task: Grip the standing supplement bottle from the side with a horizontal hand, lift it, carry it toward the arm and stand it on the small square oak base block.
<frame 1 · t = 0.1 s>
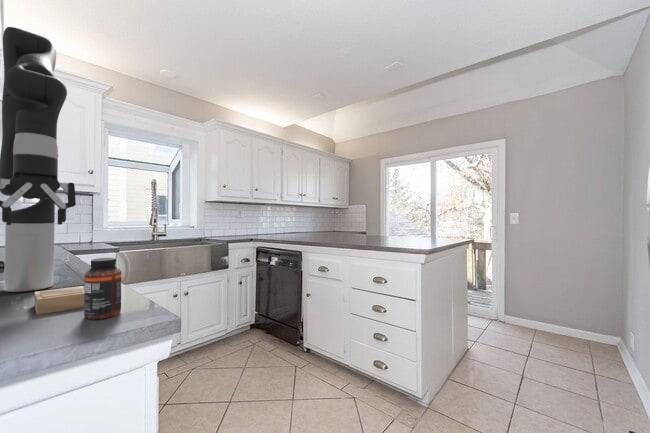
hand: (35, 224, 69), 17 cm above the counter, tool pointing down, fingers open, 8 cm apart
oak base: (61, 306, 64), on the counter
supplement bottle: (102, 316, 59), on the counter
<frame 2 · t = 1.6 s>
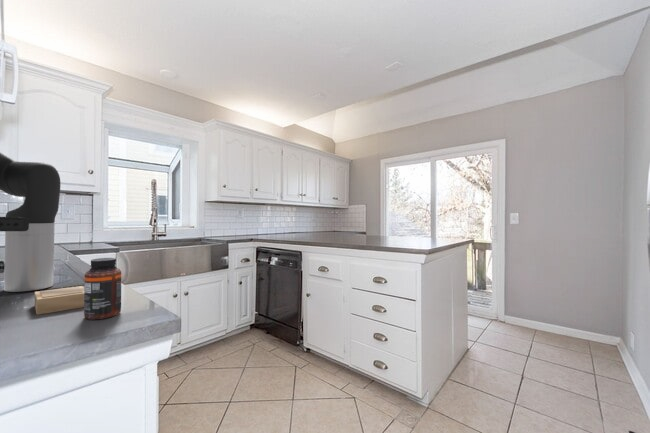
hand: (27, 223, 51), 18 cm above the counter, tool horizontal, fingers open, 8 cm apart
nothing on the counter moved.
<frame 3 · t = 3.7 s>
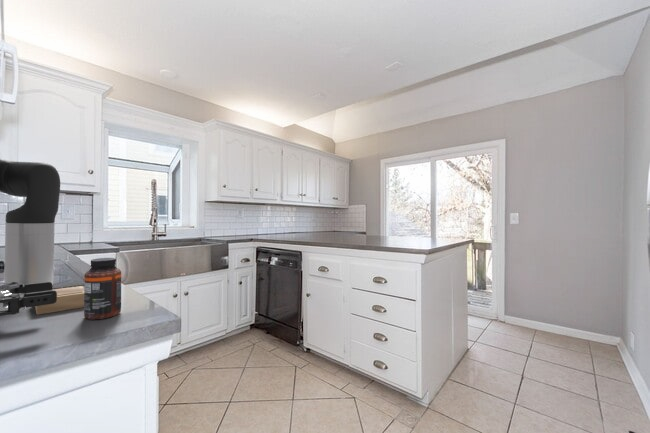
hand: (54, 291, 54), 6 cm above the counter, tool horizontal, fingers open, 8 cm apart
nothing on the counter moved.
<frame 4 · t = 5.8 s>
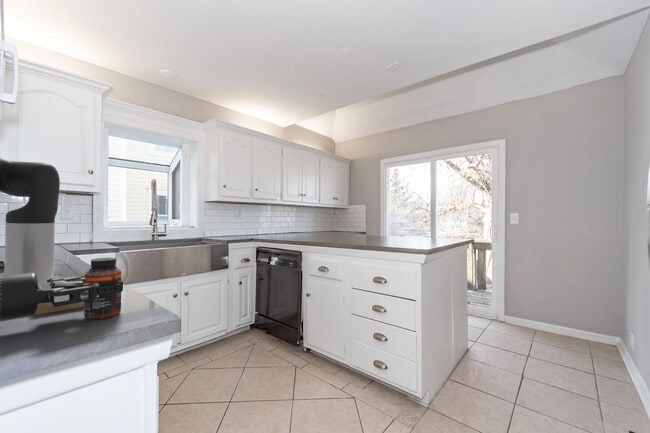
hand: (118, 283, 61), 6 cm above the counter, tool horizontal, fingers closed on supplement bottle, 6 cm apart
supplement bottle: (102, 316, 59), on the counter, touching gripper
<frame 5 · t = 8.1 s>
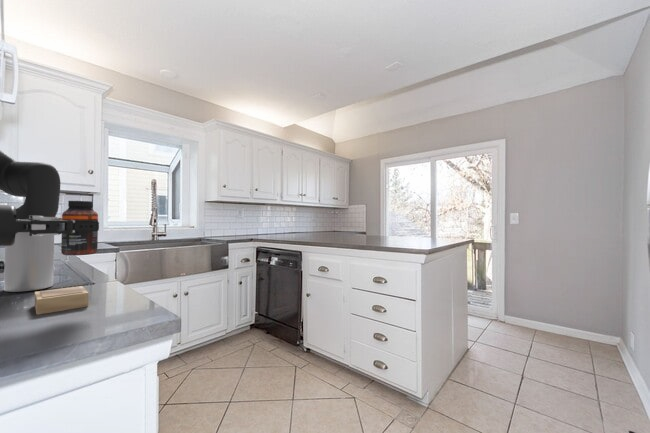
hand: (94, 225, 64), 18 cm above the counter, tool horizontal, fingers closed on supplement bottle, 6 cm apart
supplement bottle: (79, 255, 63), point 11 cm above the counter, touching gripper
when the fingers open (10 cm above the counter, at t = 10.4 s): supplement bottle stays where it is, resting on oak base.
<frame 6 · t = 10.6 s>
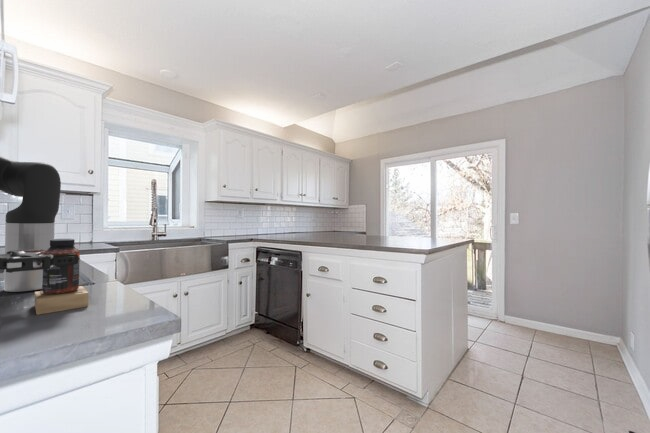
hand: (75, 256, 66), 10 cm above the counter, tool horizontal, fingers open, 7 cm apart
supplement bottle: (60, 292, 64), point 3 cm above the counter, touching oak base
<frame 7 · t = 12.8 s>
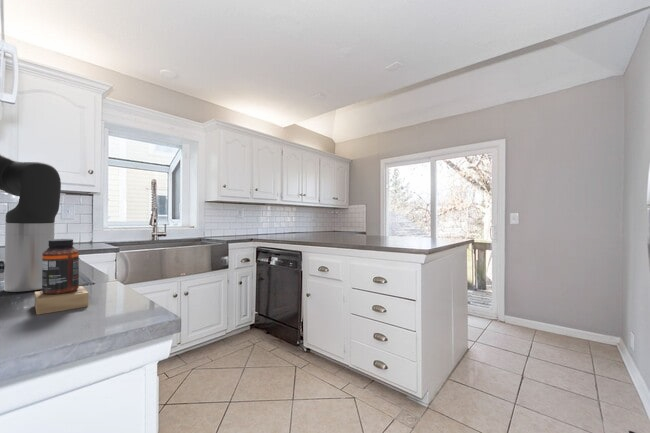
nothing on the counter moved.
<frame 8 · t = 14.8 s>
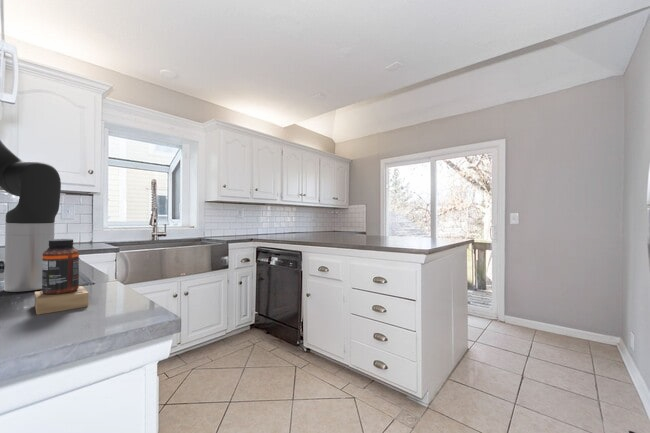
nothing on the counter moved.
at the end: supplement bottle inside the target area on the oak base (0.2 cm from its centre), point 3.0 cm above the oak base's base; supplement bottle tilted 0°; the gripper is holding nothing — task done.
